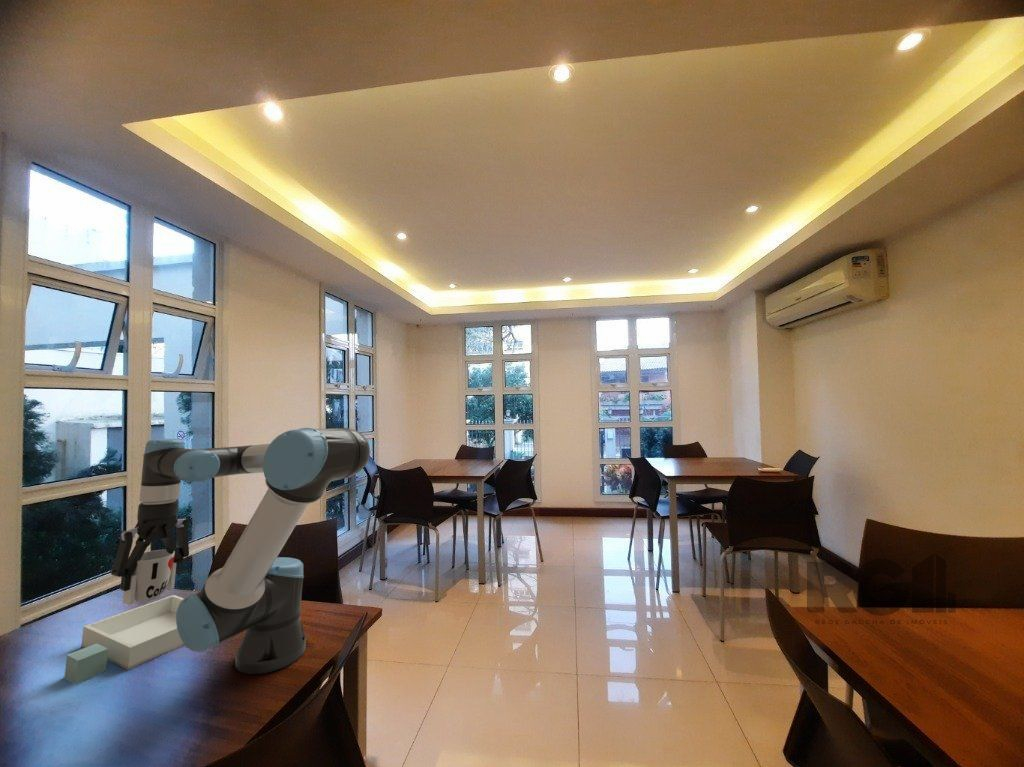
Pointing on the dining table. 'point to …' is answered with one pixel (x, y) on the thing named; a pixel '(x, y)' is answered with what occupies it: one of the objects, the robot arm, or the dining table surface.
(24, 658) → the dining table surface
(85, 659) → the cube
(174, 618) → the tote
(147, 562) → the cup
